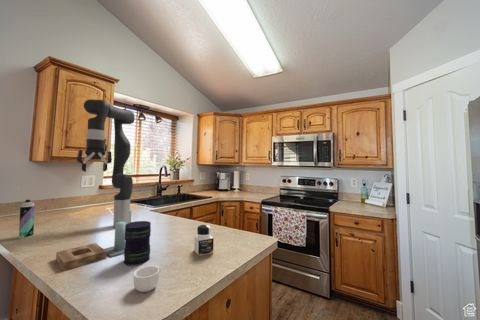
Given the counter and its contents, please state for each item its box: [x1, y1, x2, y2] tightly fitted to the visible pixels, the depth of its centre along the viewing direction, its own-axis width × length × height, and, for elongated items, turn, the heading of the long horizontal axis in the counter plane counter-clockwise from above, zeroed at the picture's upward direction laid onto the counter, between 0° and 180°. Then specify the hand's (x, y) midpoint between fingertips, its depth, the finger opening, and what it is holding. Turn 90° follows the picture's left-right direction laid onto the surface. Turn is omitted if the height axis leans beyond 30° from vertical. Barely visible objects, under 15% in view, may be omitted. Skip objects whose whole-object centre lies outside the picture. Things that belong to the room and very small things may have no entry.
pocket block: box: [55, 242, 107, 272], centre depth 88 cm, size 14×14×3 cm
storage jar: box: [123, 220, 152, 266], centre depth 88 cm, size 10×10×15 cm
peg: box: [113, 222, 126, 251], centre depth 98 cm, size 4×4×12 cm
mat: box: [103, 245, 124, 258], centre depth 97 cm, size 11×11×1 cm
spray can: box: [18, 199, 36, 240], centre depth 113 cm, size 6×6×20 cm
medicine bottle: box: [193, 224, 214, 257], centre depth 97 cm, size 7×7×12 cm
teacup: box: [133, 265, 161, 293], centre depth 69 cm, size 10×8×5 cm
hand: (94, 171), depth 105 cm, fingers open, 8 cm apart
